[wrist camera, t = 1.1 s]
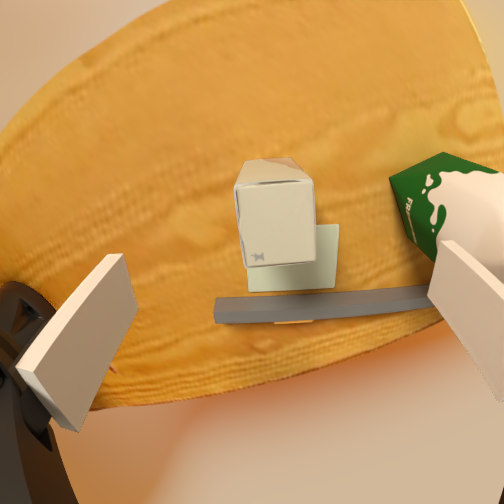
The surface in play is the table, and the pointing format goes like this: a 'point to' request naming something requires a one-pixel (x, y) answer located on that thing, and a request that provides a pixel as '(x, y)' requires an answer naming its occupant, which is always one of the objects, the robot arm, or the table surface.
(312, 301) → the rail
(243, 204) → the box
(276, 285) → the pad
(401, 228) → the table surface
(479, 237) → the fresh milk carton
